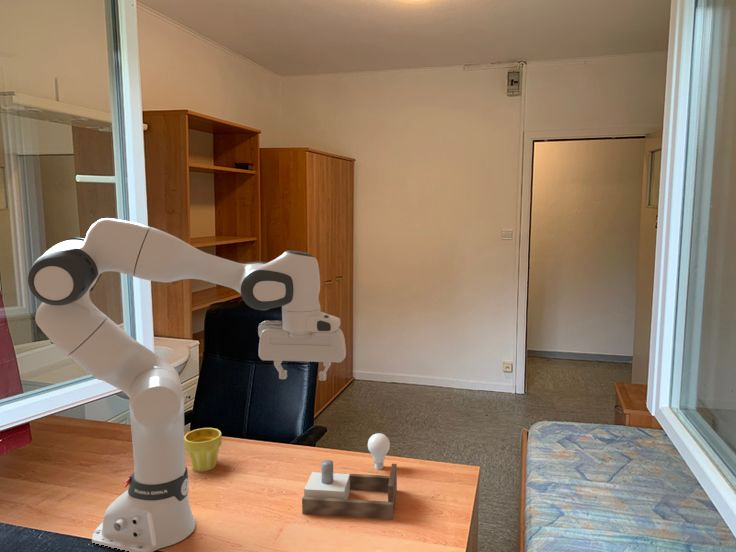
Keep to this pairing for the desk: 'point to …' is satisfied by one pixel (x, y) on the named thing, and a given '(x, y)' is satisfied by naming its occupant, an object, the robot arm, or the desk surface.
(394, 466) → the bay
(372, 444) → the lightbulb
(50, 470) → the desk surface
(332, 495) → the white box with knob
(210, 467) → the plant pot
